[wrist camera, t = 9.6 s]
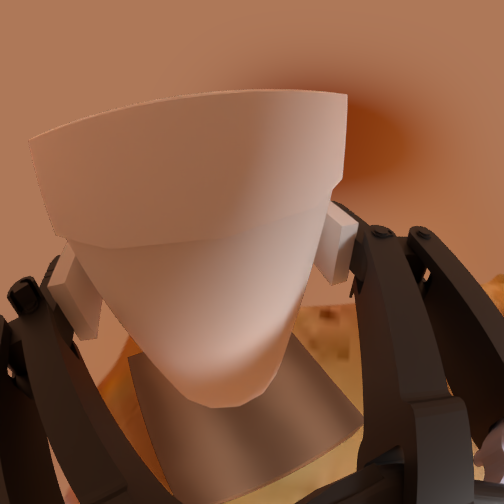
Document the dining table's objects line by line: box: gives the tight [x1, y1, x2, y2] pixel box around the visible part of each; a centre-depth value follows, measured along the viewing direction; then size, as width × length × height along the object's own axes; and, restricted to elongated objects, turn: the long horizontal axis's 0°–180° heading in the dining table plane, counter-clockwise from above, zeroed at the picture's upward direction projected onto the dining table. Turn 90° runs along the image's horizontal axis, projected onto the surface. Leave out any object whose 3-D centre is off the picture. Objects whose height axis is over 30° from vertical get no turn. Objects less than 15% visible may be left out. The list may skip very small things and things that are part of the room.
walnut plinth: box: [128, 333, 364, 504], centre depth 19 cm, size 14×14×4 cm
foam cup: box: [28, 89, 347, 408], centre depth 11 cm, size 10×9×13 cm
